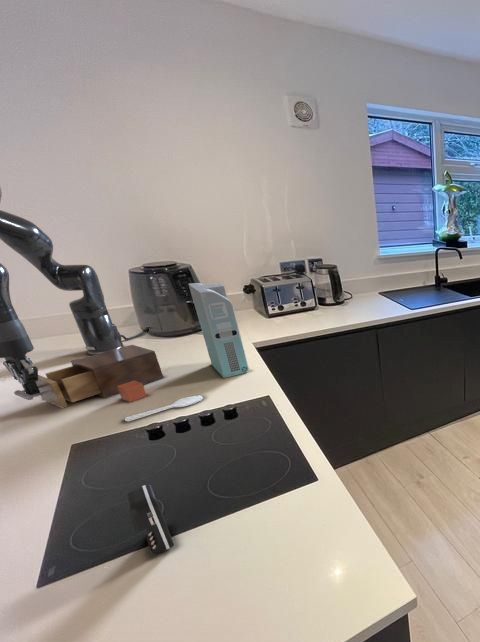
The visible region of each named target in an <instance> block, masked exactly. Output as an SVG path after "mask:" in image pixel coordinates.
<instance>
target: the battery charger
mask: <svg viewBox="0 0 480 642" xmlns="http://www.w3.org/2000/svg"><path fill="white" fill-rule="evenodd" d="M124 499H125V500H124V501H125V504H126V508H127V512H128V514H129V517H130V520H131V524H132V526H133V528H134V530H135V531H136V532H142V531H145V530H147V531H148V533H147V534H146V542H147V545H148V548H149V551H150V552H151V554H153V555H156V554H160V553H162V552H164V551H167V550H170V549H172V548H173V547H174V546H175V543H174V540H173V538H172V535H171V532H170V530H169V527H168V525H167V522H166V519H165V517H164V515H163V512H162V510H161V507H160V504H159V502H158V500H157V497H156V494H155V492H154V489H153V487H152V485H151V484H150V483H149V484H144V485H142V486H139V487H137V488H135V489H132V490H130V491H128V492H127V493H126V494H125V496H124Z"/></svg>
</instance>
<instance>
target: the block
mask: <svg viewBox="0 0 480 642" xmlns="http://www.w3.org/2000/svg"><path fill="white" fill-rule="evenodd" d="M144 386H145V385H144V384H143V383H140V382H137V381H131V382H128V383H125V384H122V385H119V386H117V388H118V391H119V393H118V394H119V396H120V398H121V399H122V400H123V401H126V402H129V403H131V402H134V401H136V400H139V399H142V398H145V397H147V396H148V395H147V392H146V389H145V387H144Z"/></svg>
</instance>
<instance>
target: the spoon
mask: <svg viewBox="0 0 480 642" xmlns="http://www.w3.org/2000/svg"><path fill="white" fill-rule="evenodd" d="M203 399H204V396H203V395H201V394H200V395H192V396H191V395H190V396H186V397H183V398H180V399H177V400H176V401H174V402H173V403H172V404H167V405H164V406H161V407H157V408H153V409H151V410H147V411H142V412H139V413H136V414H132V415H130V416H127V417H124V420H125V422H131V421H135V420H138V419H141V418H145V417H147V416H151V415H154V414H156V413H159V412H163V411H166V410H169V409H172V408H184V407H187V406H191V405H194V404H197V403H199V402H200V401H202V400H203Z"/></svg>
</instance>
